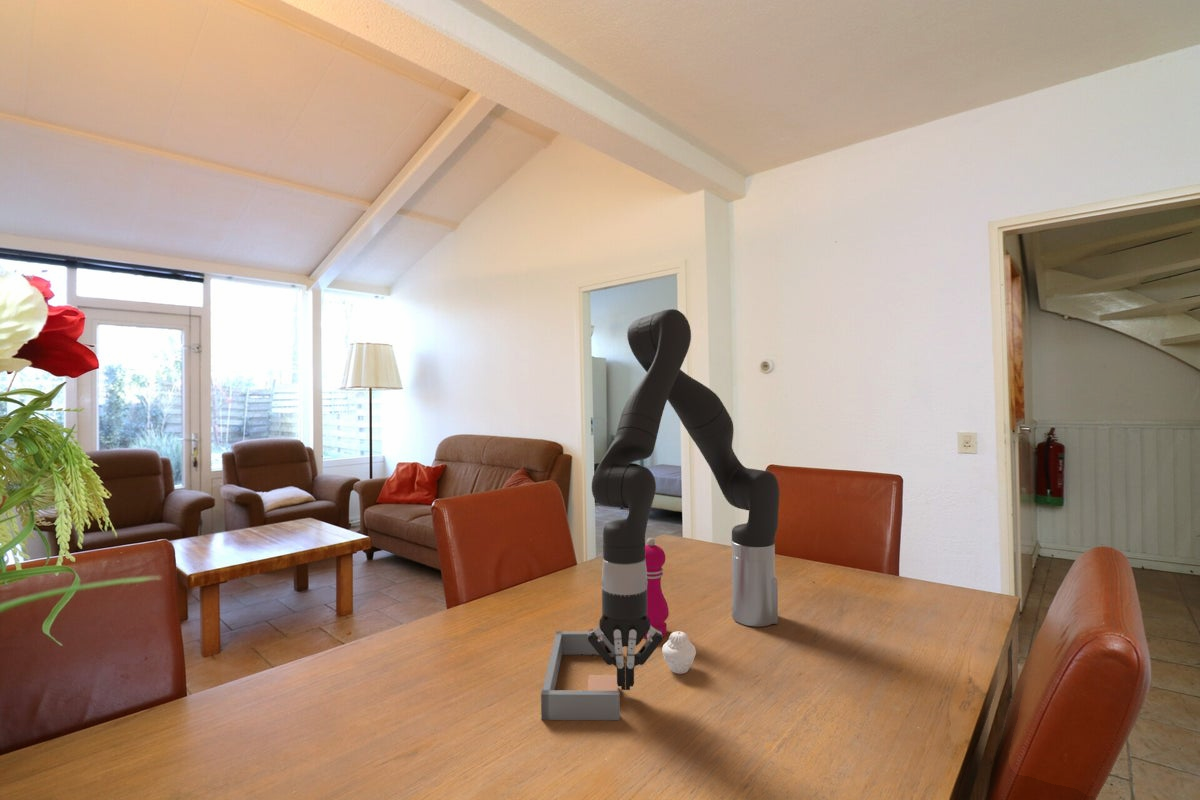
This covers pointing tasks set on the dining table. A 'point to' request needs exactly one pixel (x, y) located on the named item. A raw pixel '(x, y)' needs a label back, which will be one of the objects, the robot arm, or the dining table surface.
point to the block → (603, 682)
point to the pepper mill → (655, 587)
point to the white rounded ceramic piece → (679, 652)
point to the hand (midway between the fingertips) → (625, 687)
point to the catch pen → (575, 701)
